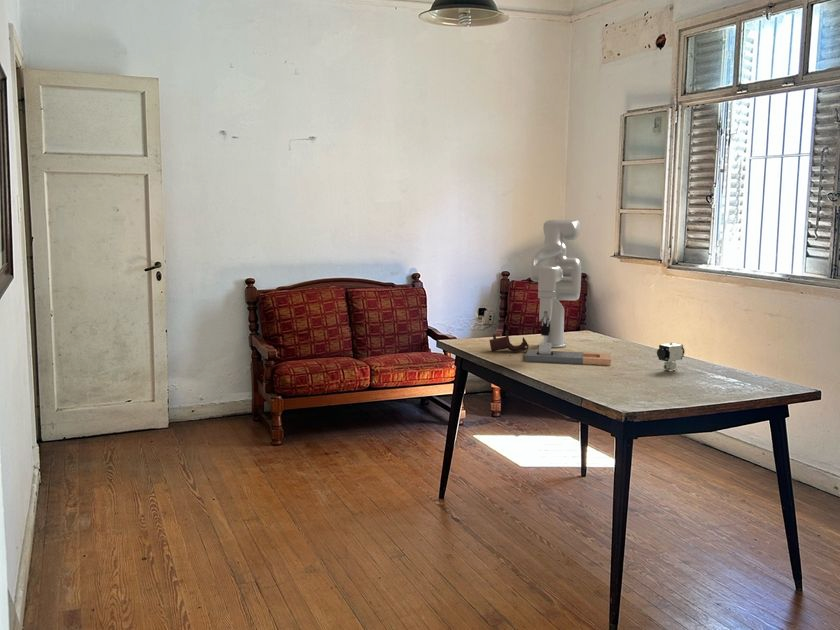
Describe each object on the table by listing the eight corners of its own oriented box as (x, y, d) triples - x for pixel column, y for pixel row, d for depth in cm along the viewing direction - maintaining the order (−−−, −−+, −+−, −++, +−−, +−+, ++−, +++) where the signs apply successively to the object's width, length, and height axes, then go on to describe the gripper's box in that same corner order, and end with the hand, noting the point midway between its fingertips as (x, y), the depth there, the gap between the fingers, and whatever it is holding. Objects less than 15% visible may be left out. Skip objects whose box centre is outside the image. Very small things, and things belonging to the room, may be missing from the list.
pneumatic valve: (655, 371, 332) (656, 342, 330) (674, 368, 338) (676, 340, 336) (665, 373, 327) (667, 344, 325) (685, 370, 333) (687, 342, 331)
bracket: (529, 347, 366) (524, 326, 369) (492, 354, 367) (488, 333, 370) (529, 350, 372) (524, 329, 374) (492, 357, 373) (488, 336, 375)
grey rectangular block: (539, 357, 358) (539, 342, 356) (550, 358, 356) (551, 342, 355) (538, 360, 353) (539, 344, 352) (550, 360, 352) (550, 344, 351)
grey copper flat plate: (527, 355, 363) (527, 349, 363) (609, 359, 356) (610, 353, 355) (525, 361, 349) (525, 355, 349) (610, 365, 342) (610, 359, 342)
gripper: (539, 293, 359) (538, 331, 361) (536, 296, 343) (535, 336, 345) (556, 293, 358) (555, 331, 360) (554, 297, 341) (553, 337, 343)
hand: (545, 333), depth 352 cm, fingers open, 9 cm apart
